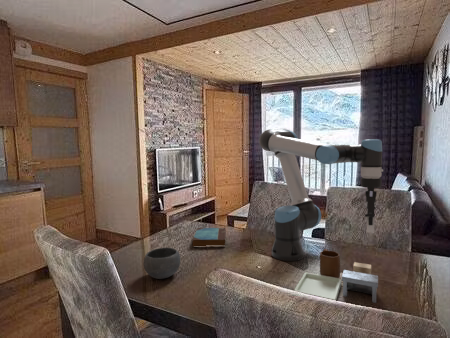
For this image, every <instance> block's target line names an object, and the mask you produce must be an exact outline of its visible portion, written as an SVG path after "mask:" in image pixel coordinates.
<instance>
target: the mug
mask: <svg viewBox="0 0 450 338" xmlns="http://www.w3.org/2000/svg"><path fill="white" fill-rule="evenodd" d="M319 275H324V276H329V277H334V278H340V276H341V255H340V253H338V252H337V251H334V250H329V249H327V248H324V249H323V250H322V251H320V253H319ZM340 279H341V278H340Z"/></svg>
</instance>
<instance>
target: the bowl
mask: <svg viewBox="0 0 450 338" xmlns="http://www.w3.org/2000/svg"><path fill="white" fill-rule="evenodd" d="M180 265H181V255H180V252H179V251H178V250H177V249H175V248H173V247H158V248H155V249H151V250H149V251H148V252H147V253H145V255H144V259H143V268H144V272H146V274H147V275H148V276H150V277H151V278H154V279H157V280H158V279H159V280H164V279H167V278H170V277H171V276H173V275H174V274H176V272H177V271H178V270H179V268H180Z"/></svg>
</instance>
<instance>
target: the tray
mask: <svg viewBox="0 0 450 338" xmlns="http://www.w3.org/2000/svg"><path fill="white" fill-rule="evenodd" d="M342 285H343V281H342V278H334V277H329V276H324V275H320V274H318V273H311V272H306V271H305V272H304V273H303V275H302V276H301V278H300V280H299V282H298V283H297V285H296V286H295V288H294V290H295V291H298V292H302V293H306V294H310V295H315V296H319V297H323V298H328V299H332V300H338V297H339V293H340V290H341V287H342ZM294 290H293V291H294Z"/></svg>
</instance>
